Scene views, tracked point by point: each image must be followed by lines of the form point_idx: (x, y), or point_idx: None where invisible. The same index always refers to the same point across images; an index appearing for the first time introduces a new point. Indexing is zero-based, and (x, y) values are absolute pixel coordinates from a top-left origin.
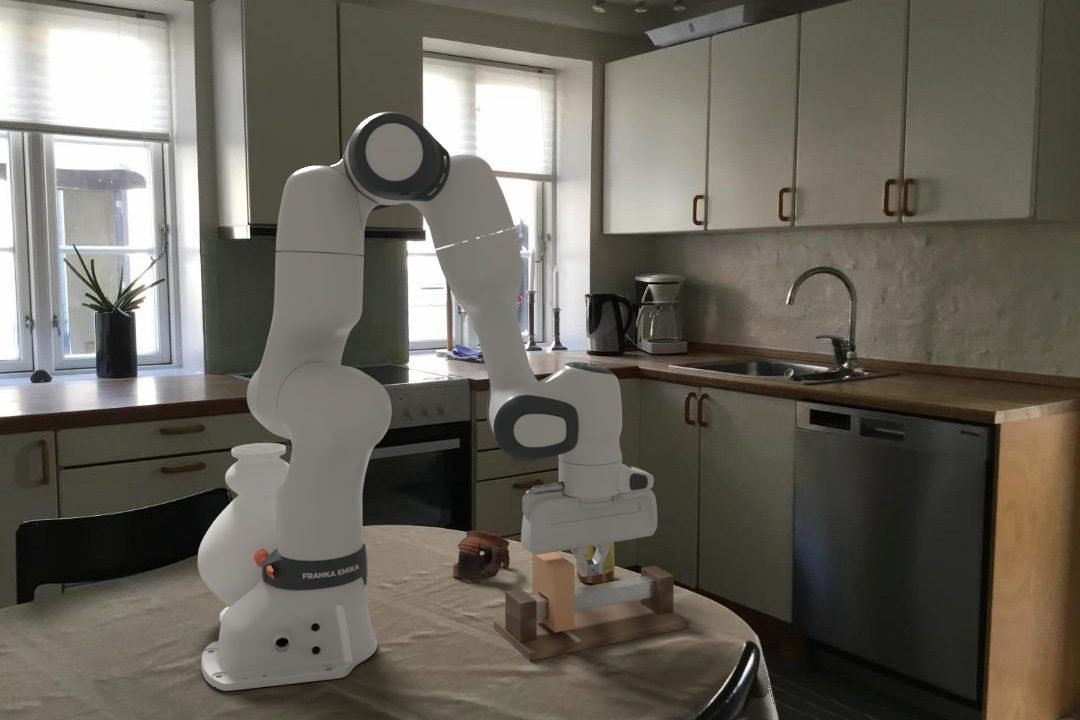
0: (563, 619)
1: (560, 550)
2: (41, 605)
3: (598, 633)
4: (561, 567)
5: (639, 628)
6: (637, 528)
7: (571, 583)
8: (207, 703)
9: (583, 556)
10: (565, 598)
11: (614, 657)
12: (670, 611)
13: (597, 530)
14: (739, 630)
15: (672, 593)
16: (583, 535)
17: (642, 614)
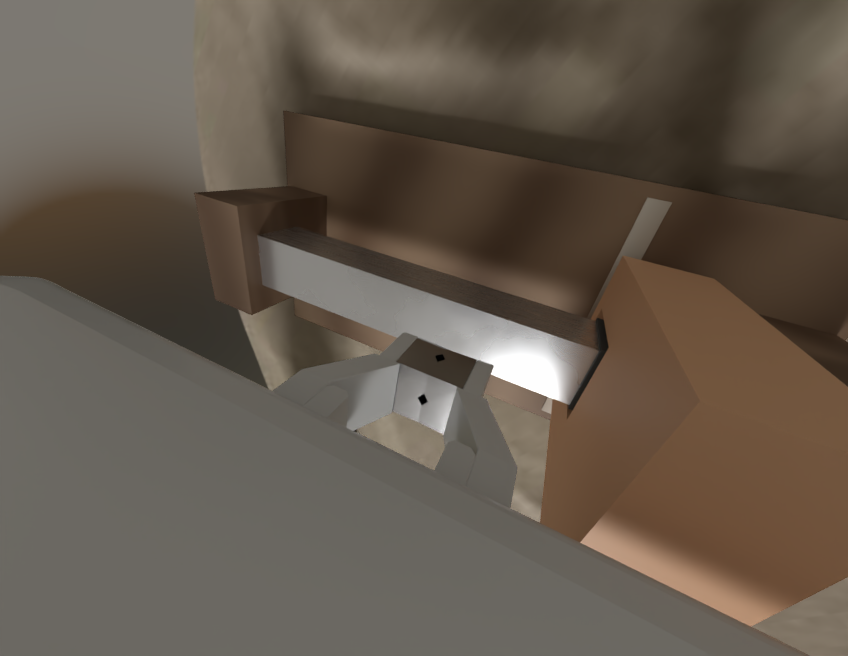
0: (685, 281)
1: (765, 636)
2: None
3: (543, 210)
4: None
5: (419, 154)
6: (8, 332)
7: (684, 335)
8: None
9: (477, 436)
10: (705, 312)
11: (623, 46)
12: (295, 188)
13: (257, 555)
14: (204, 4)
15: (250, 190)
16: (457, 631)
17: (357, 228)
